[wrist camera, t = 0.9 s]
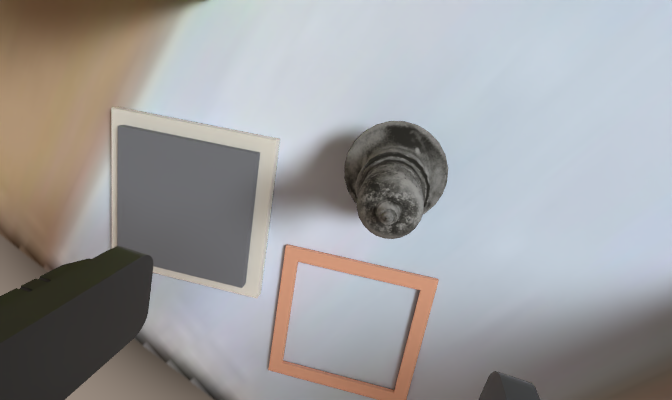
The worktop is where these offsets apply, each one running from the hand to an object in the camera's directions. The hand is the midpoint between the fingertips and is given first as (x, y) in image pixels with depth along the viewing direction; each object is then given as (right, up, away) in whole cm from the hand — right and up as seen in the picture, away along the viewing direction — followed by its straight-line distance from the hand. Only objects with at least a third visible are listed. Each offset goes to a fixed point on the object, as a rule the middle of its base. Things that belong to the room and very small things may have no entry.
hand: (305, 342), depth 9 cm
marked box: (+2, -6, +21) cm, 22 cm away
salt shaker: (+5, +6, +18) cm, 19 cm away
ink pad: (-10, +3, +21) cm, 23 cm away
